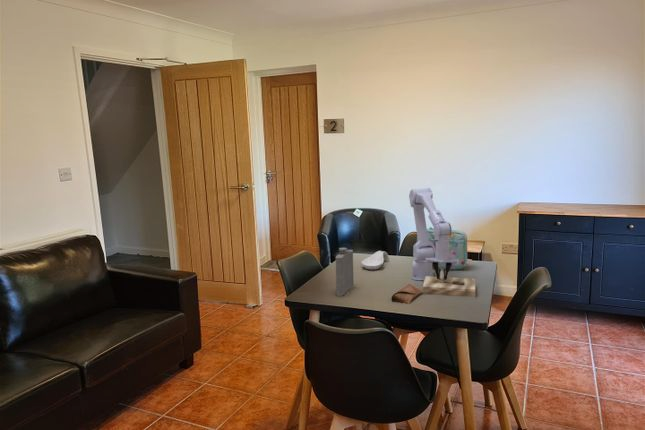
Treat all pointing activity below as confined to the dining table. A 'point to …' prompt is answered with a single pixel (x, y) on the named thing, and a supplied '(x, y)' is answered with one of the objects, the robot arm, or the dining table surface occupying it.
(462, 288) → the keyhole plate
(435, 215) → the robot arm
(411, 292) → the sunglasses case
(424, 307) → the dining table surface
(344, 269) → the hip flask
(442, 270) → the peg
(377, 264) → the spoon rest
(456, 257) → the lunch box
